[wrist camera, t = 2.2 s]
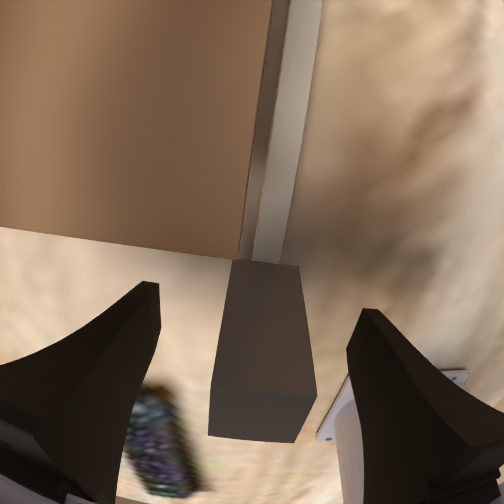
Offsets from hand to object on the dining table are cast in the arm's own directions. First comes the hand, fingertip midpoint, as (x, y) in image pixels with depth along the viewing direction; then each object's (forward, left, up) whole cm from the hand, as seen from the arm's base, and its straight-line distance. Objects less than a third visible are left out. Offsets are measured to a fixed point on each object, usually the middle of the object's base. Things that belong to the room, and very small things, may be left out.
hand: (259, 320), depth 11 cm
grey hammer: (0, 0, -4) cm, 4 cm away
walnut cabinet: (+8, -9, -4) cm, 12 cm away
